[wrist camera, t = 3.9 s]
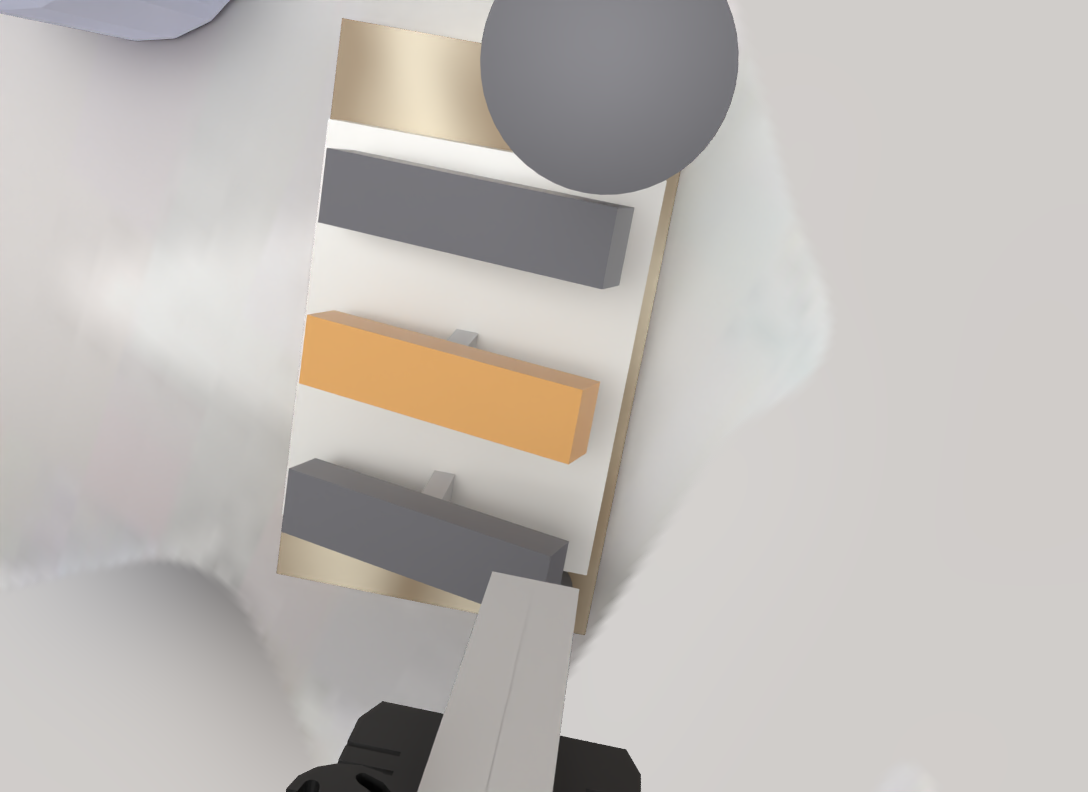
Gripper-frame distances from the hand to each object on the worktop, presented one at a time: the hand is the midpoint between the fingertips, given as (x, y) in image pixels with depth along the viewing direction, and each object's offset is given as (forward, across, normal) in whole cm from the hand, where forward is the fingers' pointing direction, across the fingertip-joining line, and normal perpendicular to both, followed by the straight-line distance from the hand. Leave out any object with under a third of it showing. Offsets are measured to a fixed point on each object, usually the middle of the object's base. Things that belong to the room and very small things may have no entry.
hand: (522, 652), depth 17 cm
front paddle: (+16, -4, +6) cm, 18 cm away
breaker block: (+22, -4, 0) cm, 23 cm away
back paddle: (+16, -4, -6) cm, 18 cm away
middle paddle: (+16, -4, 0) cm, 17 cm away
